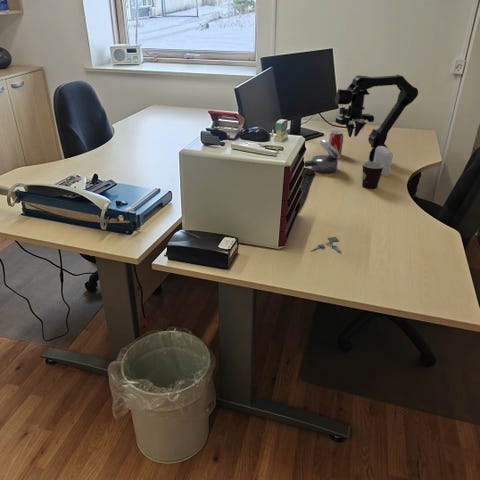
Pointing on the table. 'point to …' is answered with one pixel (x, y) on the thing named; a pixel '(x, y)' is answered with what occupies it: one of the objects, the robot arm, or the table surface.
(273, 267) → the table surface
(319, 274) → the table surface
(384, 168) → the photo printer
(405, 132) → the table surface
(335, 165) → the pressure cooker pot
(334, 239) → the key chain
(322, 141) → the cooker lid
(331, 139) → the soda can
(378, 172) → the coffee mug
